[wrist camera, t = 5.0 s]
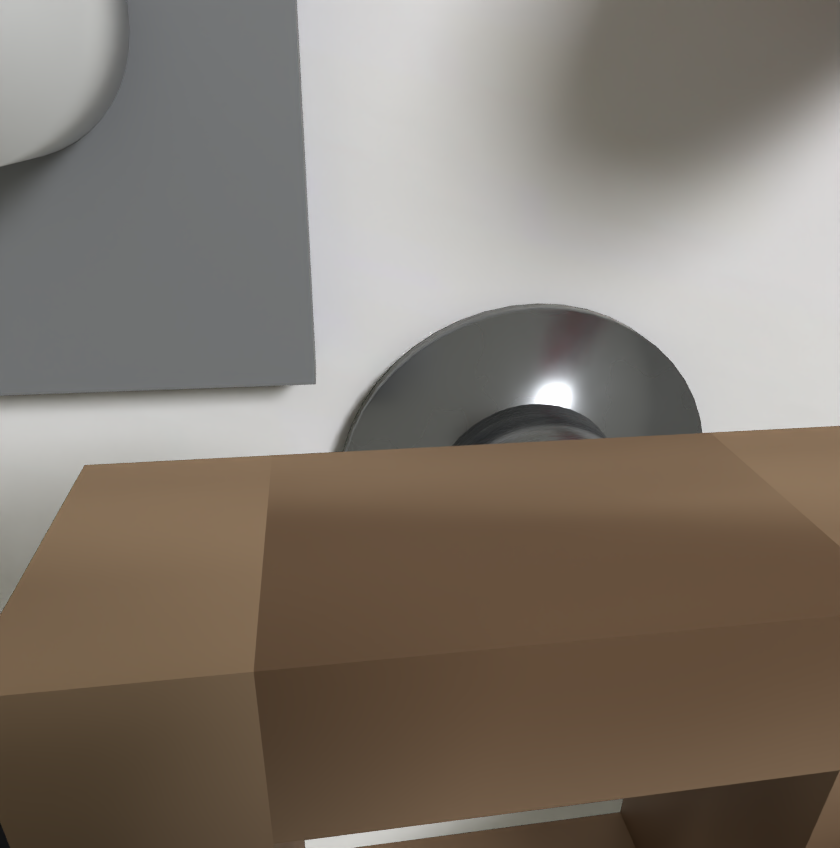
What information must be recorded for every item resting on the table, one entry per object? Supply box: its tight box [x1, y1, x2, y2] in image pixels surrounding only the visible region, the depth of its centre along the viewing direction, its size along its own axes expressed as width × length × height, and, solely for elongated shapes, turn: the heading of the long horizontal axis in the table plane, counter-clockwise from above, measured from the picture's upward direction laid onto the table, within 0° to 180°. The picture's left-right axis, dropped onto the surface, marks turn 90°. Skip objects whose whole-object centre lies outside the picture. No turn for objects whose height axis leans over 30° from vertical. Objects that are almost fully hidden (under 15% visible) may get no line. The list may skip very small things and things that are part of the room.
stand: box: [343, 304, 702, 452], centre depth 18 cm, size 11×11×6 cm
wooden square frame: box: [0, 426, 840, 848], centre depth 7 cm, size 7×7×2 cm
